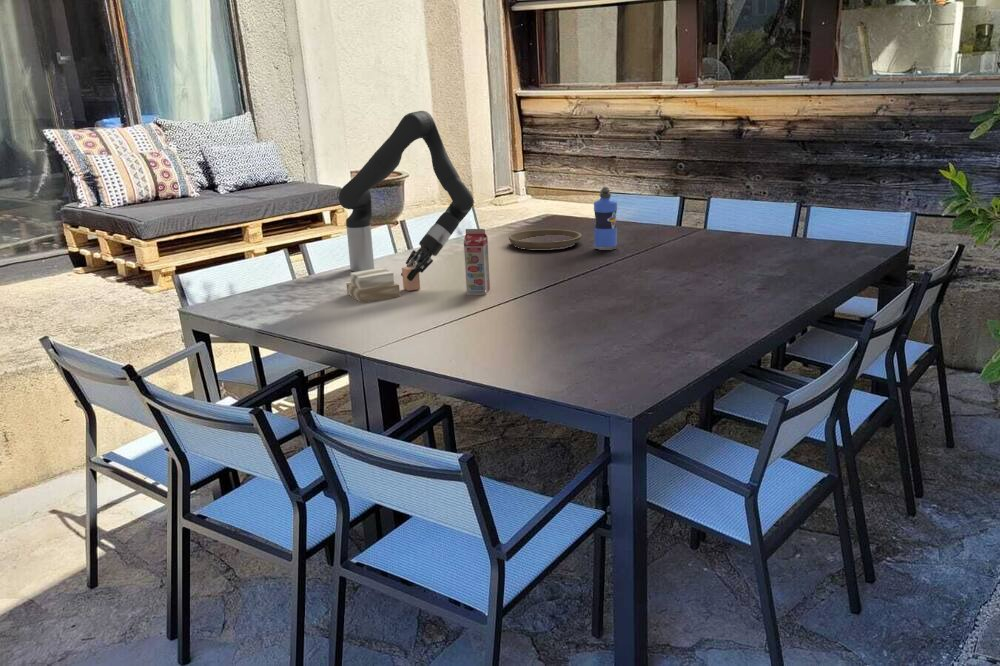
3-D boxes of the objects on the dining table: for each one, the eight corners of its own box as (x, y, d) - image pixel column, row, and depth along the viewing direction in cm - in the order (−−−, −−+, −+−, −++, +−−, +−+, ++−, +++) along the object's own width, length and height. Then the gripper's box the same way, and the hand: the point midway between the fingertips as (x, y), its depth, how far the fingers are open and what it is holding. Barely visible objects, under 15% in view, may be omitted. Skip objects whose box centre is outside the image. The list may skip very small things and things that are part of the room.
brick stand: (347, 294, 305) (345, 272, 303) (384, 288, 311) (383, 266, 309) (361, 302, 293) (359, 279, 291) (400, 296, 300) (398, 273, 297)
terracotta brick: (403, 288, 309) (401, 267, 307) (415, 286, 311) (413, 265, 309) (408, 290, 305) (406, 269, 303) (420, 288, 307) (418, 268, 305)
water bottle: (590, 249, 359) (589, 188, 352) (601, 245, 366) (600, 185, 359) (610, 251, 354) (610, 189, 346) (621, 247, 361) (621, 186, 354)
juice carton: (471, 289, 304) (467, 227, 298) (489, 290, 303) (487, 227, 296) (466, 294, 298) (463, 230, 291) (485, 295, 297) (482, 230, 290)
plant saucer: (545, 235, 394) (545, 225, 392) (597, 243, 372) (597, 233, 370) (493, 247, 374) (493, 236, 373) (545, 256, 352) (545, 245, 351)
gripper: (419, 230, 312) (390, 268, 310) (436, 236, 300) (406, 275, 298) (434, 242, 316) (405, 280, 314) (451, 249, 304) (421, 288, 302)
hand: (406, 277), depth 306 cm, fingers closed on terracotta brick, 4 cm apart
